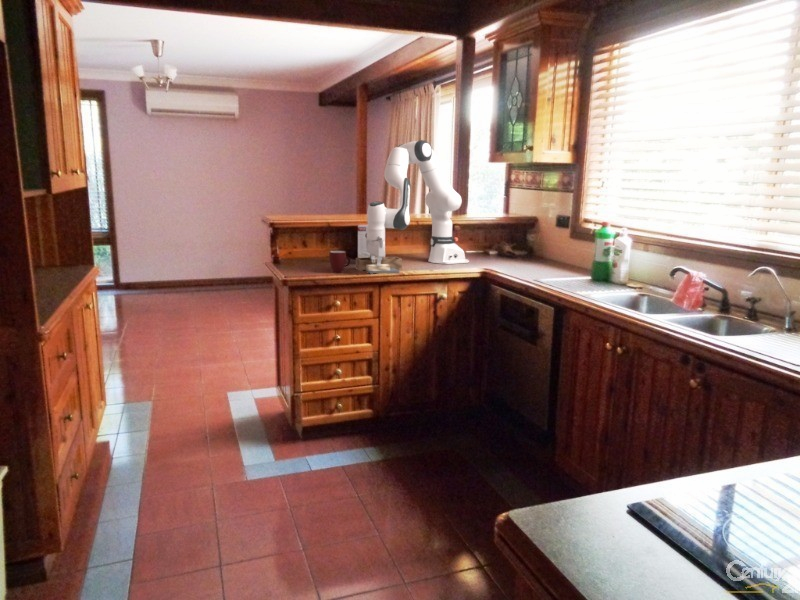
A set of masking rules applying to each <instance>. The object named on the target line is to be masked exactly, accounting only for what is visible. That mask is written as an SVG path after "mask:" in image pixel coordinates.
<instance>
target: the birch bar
mask: <svg viewBox="0 0 800 600" xmlns="http://www.w3.org/2000/svg"><path fill="white" fill-rule="evenodd" d="M366 270H367V271H388V270H390V265H388V264H381V265H380V266H377V265H376V264H373V265H366Z"/></svg>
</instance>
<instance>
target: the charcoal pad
mask: <svg viewBox="0 0 800 600" xmlns="http://www.w3.org/2000/svg"><path fill="white" fill-rule="evenodd" d="M365 272H366V273H367V272H368V273H367V274H369V273H370V274H369V275H374V274H373V273H387V274H400V270H397V269H395V268H390V270H388V271H367V270H366V271H365Z"/></svg>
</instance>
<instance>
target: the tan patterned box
mask: <svg viewBox="0 0 800 600" xmlns="http://www.w3.org/2000/svg"><path fill="white" fill-rule="evenodd" d="M383 258H385V259H383ZM376 262H377V259H375V263H372V262H371V258H358V257H355V269H356V268H357V269H358V270H357V269H356V270H357V271H359V270H360V271H359V272H364V271H363V270H366V265H373V264H376ZM381 264H388V265H390V268H395V269H397V270H399V271H401V270H400V269H402V270H403V259H402V258H401V257H398V256H385V257H382V260H381Z"/></svg>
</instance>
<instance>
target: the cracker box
mask: <svg viewBox="0 0 800 600" xmlns="http://www.w3.org/2000/svg"><path fill="white" fill-rule="evenodd" d="M367 227H368V223H367V224H358V225H357V258H370V257H367V256H364V255H362V254H361V252H363V253H366V254H369V255H370V253H368V252H367V247H366V239H367V238H365V234H366V233H367ZM382 241H384V243H385V244H386V239H385V240H382ZM375 257H376V256H375Z"/></svg>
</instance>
